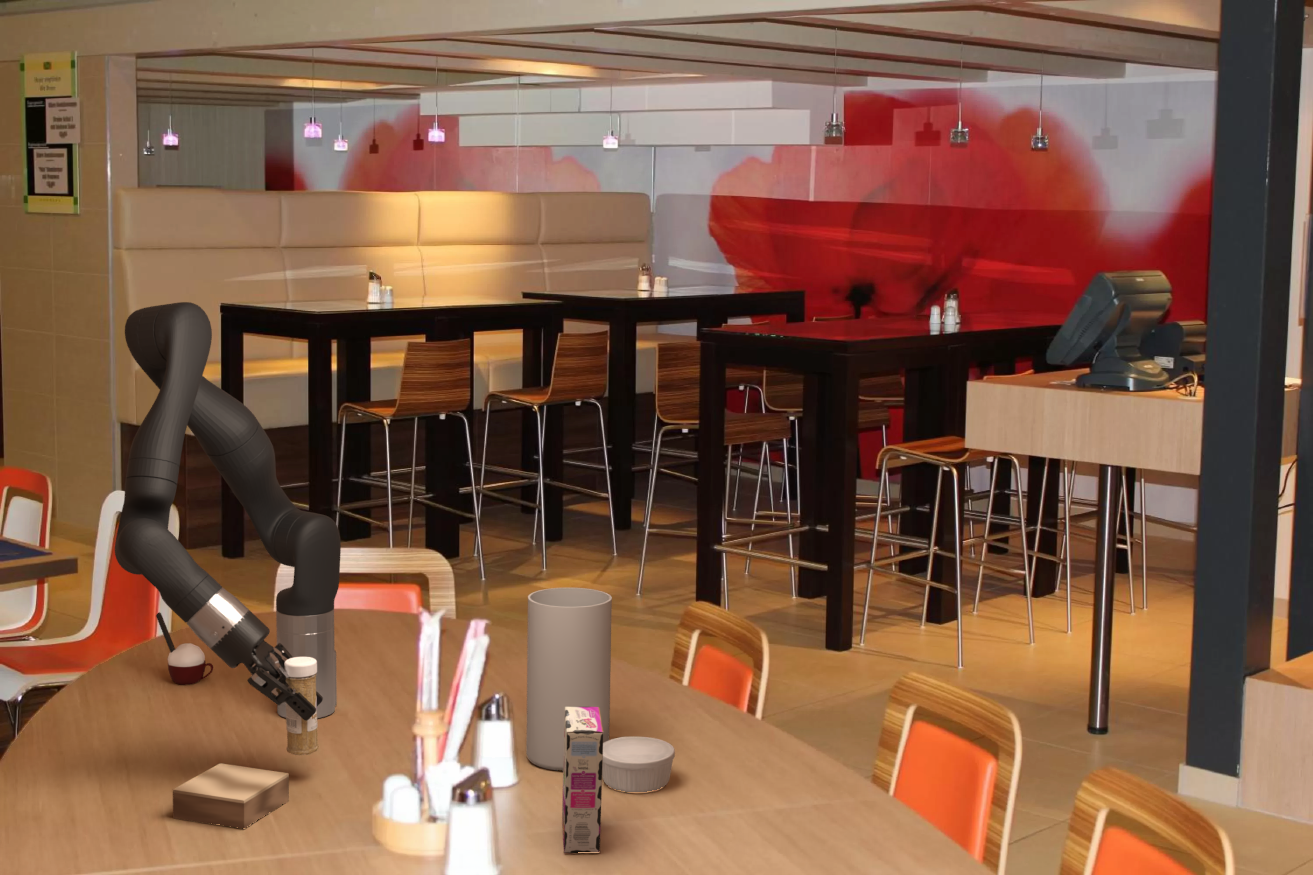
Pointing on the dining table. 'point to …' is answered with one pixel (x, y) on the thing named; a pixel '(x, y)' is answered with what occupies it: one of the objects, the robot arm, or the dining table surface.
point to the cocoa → (184, 660)
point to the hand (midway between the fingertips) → (314, 709)
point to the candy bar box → (582, 779)
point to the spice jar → (304, 681)
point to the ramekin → (637, 763)
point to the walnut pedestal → (230, 795)
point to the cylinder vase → (565, 666)
